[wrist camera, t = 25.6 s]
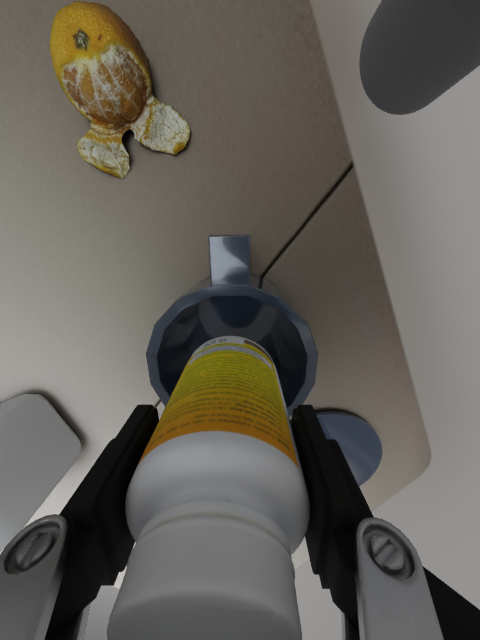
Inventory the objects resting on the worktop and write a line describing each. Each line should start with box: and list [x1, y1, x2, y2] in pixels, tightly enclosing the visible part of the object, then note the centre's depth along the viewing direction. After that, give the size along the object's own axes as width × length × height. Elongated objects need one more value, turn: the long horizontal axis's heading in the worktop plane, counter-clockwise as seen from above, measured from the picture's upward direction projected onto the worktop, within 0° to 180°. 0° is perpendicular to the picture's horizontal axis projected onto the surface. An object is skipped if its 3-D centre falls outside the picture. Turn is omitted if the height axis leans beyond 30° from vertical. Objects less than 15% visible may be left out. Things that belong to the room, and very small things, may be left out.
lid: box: [291, 411, 382, 486], centre depth 23 cm, size 12×12×7 cm
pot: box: [146, 235, 318, 417], centre depth 18 cm, size 11×16×8 cm
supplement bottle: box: [107, 336, 310, 640], centre depth 9 cm, size 6×6×10 cm
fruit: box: [50, 1, 190, 179], centre depth 15 cm, size 8×8×4 cm
